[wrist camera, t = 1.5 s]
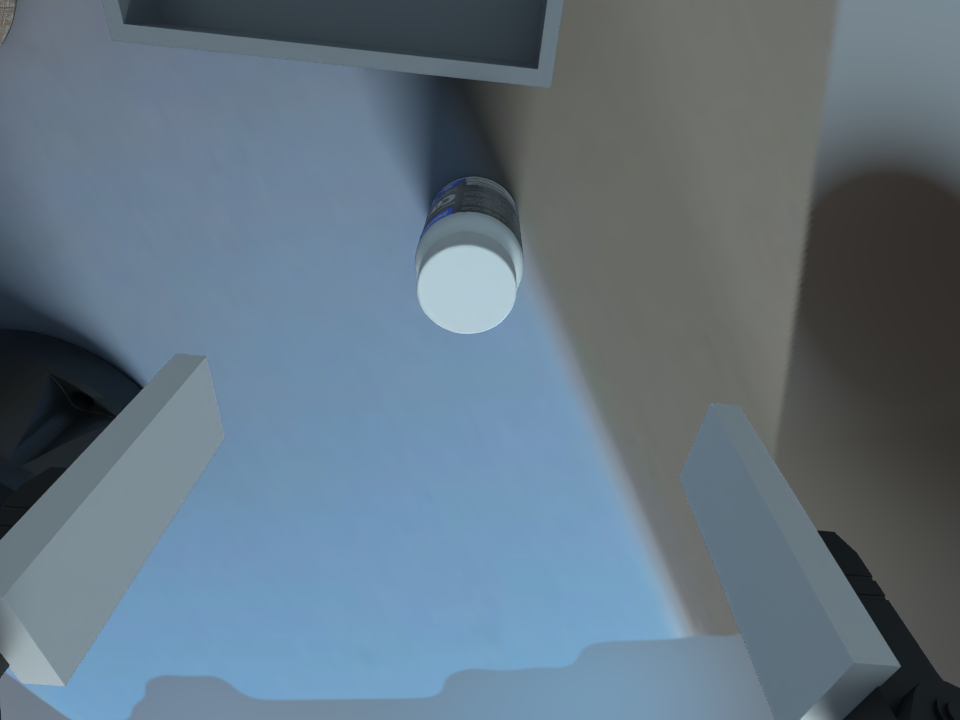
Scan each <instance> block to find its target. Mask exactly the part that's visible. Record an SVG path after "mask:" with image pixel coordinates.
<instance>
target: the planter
mask: <svg viewBox="0 0 960 720" xmlns="http://www.w3.org/2000/svg"><path fill="white" fill-rule="evenodd" d="M16 2H17V0H0V46H1V45H2V44H3V42H4V41H5V39H6V37H7V35H8V33H9V31H10V29H11V26H12V23H13V20H14V16H15V10H16Z"/></svg>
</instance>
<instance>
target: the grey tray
mask: <svg viewBox="0 0 960 720" xmlns="http://www.w3.org/2000/svg"><path fill="white" fill-rule="evenodd" d="M102 2H103V6H104V10H105V14H106V18H107V22H108V26H109V30H110V34H111V38H112V41H121V42H131V43H140V44H149V45H158V46H168V47H177V48H186V49H195V50H204V51H214V52H223V53H232V54H241V55H251V56H260V57H269V58H278V59H287V60H297V61H306V62H315V63H324V64H334V65H343V66H352V67H361V68H370V69H380V70H389V71H398V72H407V73H417V74H426V75H435V76H444V77H453V78H463V79H472V80H481V81H490V82H500V83H509V84H518V85H527V86H536V87H546V88H551V82H552V75H553V69H554V62H555V55H556V49H557V42H558V35H559V29H560V22H561V15H562V9H563V2H564V0H102Z"/></svg>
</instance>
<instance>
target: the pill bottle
mask: <svg viewBox="0 0 960 720" xmlns="http://www.w3.org/2000/svg"><path fill="white" fill-rule="evenodd" d="M523 268H524V257H523V249H522V240H521V232H520V221H519V215H518V211H517V207H516V205H515V202H514V201H513V199H512V197H511V196H510V194H509V193H508V192H507V191H506V190H505V189H504V188H503V187H502V186H500V185H499V184H497V183H496V182H494V181H492V180H489V179H486V178H482V177H464V178H460V179H457V180H455V181H453V182H451V183H449V184H448V185H446V186H445V187H444V188H443V189H442V190H441V191H440V192H439V193H438V195H437V196H436V197H435V199H434V201H433V203H432V205H431V208H430V211H429V214H428V217H427V219H426V222H425V225H424V229H423V232H422V234H421V237H420V241H419V243H418V247H417V250H416V255H415V270H416V275H417V295H418V299H419V302H420V304H421V307H422V309H423V310H424V312H425V313H426V314H427V316H428V317H429V318H430V319H431V320H432V321H434V322H435V323H436V324H438V325H439V326H441V327H443V328H444V329H447V330H449V331H452V332H456V333H464V334H472V333H479V332H483V331H486V330H489V329H491V328H493V327H495V326H496V325H498V324H499V323H500V322H502V321H503V320H504V319H505V318H506V316H507V315H508V314H509V312H510V311H511V309H512V307H513V305H514V303H515V299H516V295H517V288H518V286H519V284H520V281H521V278H522V274H523Z"/></svg>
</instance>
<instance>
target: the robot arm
mask: <svg viewBox="0 0 960 720" xmlns="http://www.w3.org/2000/svg"><path fill="white" fill-rule="evenodd" d="M224 438H225V434H224V430H223V426H222V421H221V417H220V413H219V408H218V404H217V399H216V395H215V391H214V386H213V382H212V378H211V373H210V369H209V365H208V360H207V356H197V355H186V354H175V355H174V356H173V358H172V359H171V360H170V361H169V362H168V363H167V364H166V365H165V366H164V367H163V368H162V369H161V370H160V371H159V372H158V373H157V374H156V376H155V377H154V378H153V379H152V380H151V381H150V382H149V383H148V384H147V385H146V386H145V387H144V388H143V389H142V390H141V389H140V388H139V387H138V386H137V385H136V384H135V383H133V382H132V381H131V380H130V379H129V378H128V377H126V376H125V375H124V374H122V373H121V372H120V371H118V370H117V369H115V368H114V367H113V366H111V365H110V364H108V363H106V362H105V361H103V360H102V359H100V358H98V357H96V356H94V355H93V354H91V353H89V352H87V351H85V350H83V349H80V348H78V347H76V346H74V345H71V344H68V343H66V342H63V341H60V340H57V339H54V338H51V337H47V336H44V335H39V334H35V333H30V332H24V331H15V330H0V678H1V676H2V675H3V674H4V672H5V671H6V670H7V668H8V667H9V668H10V669H11V670H12V671H13V673H14V674H15V675H16V677H17V678H18V679H19V680H20V682H21V683H26V684H39V685H53V686H66V685H67V683H68V682H69V680H70V678H71V677H72V675H73V674H74V672H75V671H76V669H77V668H78V666H79V664H80V663H81V661H82V660H83V658H84V657H85V655H86V653H87V652H88V650H89V649H90V647H91V646H92V644H93V643H94V641H95V639H96V638H97V636H98V635H99V633H100V632H101V630H102V629H103V627H104V625H105V624H106V622H107V621H108V619H109V618H110V616H111V614H112V613H113V611H114V610H115V608H116V607H117V605H118V604H119V602H120V600H121V599H122V597H123V596H124V594H125V593H126V591H127V590H128V588H129V586H130V585H131V583H132V582H133V580H134V579H135V577H136V575H137V574H138V572H139V571H140V569H141V568H142V566H143V565H144V563H145V561H146V560H147V558H148V557H149V555H150V554H151V552H152V551H153V549H154V547H155V546H156V544H157V543H158V541H159V540H160V538H161V536H162V535H163V533H164V532H165V530H166V529H167V527H168V526H169V524H170V522H171V521H172V519H173V518H174V516H175V515H176V513H177V512H178V510H179V508H180V507H181V505H182V504H183V502H184V501H185V499H186V497H187V496H188V494H189V493H190V491H191V490H192V488H193V487H194V485H195V483H196V482H197V480H198V479H199V477H200V476H201V474H202V473H203V471H204V469H205V468H206V466H207V465H208V463H209V462H210V460H211V458H212V457H213V455H214V454H215V452H216V451H217V449H218V448H219V446H220V444H221V443H222V441H223V440H224ZM679 478H680V481H681V483H682V486H683V488H684V491H685V493H686V496H687V498H688V501H689V504H690V506H691V509H692V511H693V514H694V516H695V519H696V521H697V524H698V526H699V529H700V531H701V534H702V537H703V539H704V542H705V544H706V547H707V549H708V552H709V554H710V557H711V559H712V562H713V564H714V567H715V569H716V572H717V575H718V577H719V580H720V582H721V585H722V587H723V590H724V592H725V595H726V597H727V600H728V602H729V605H730V608H731V610H732V613H733V615H734V618H735V620H736V623H737V625H738V628H739V630H740V633H741V635H742V638H743V640H744V643H745V645H746V648H747V650H748V653H749V656H750V658H751V660H752V663H753V666H754V668H755V671H756V673H757V676H758V679H759V681H760V684H761V686H762V689H763V691H764V694H765V696H766V698H767V701H768V704H769V706H770V709H771V711H772V714H773V717H774V719H775V720H960V688H958V687H956V686H954V685H952V684H950V683H948V682H945V681H943V680H942V679H941V677H940V676H939V675H938V673H937V672H936V671H935V669H934V668H933V666H932V665H931V663H930V662H929V660H928V659H927V657H926V656H925V654H924V653H923V651H922V650H921V648H920V647H919V645H918V644H917V642H916V641H915V639H914V638H913V636H912V635H911V633H910V632H909V630H908V629H907V627H906V626H905V624H904V623H903V621H902V620H901V618H900V617H899V615H898V614H897V612H896V611H895V609H894V608H893V607H892V605H891V603H890V602H889V601H888V600H886V599H885V594H884V593H883V591H882V590H881V588H880V587H879V586H878V584H877V582H876V581H873V580H872V575H871V573H870V572H869V570H868V569H867V567H866V566H865V564H864V563H863V561H862V560H861V558H860V557H859V555H858V554H857V553H856V552H855V551H854V550H853V549H852V548H851V547H850V546H849V545H847V543H846V542H844V541H843V540H842V539H841V538H840V537H839V536H838V535H837V534H836V533H835V532H829V531H817V530H816V528H815V527H814V525H813V524H812V522H811V520H810V519H809V517H808V516H807V514H806V512H805V511H804V509H803V508H802V506H801V504H800V503H799V501H798V500H797V498H796V496H795V495H794V493H793V491H792V490H791V488H790V487H789V485H788V483H787V482H786V480H785V478H784V477H783V475H782V474H781V472H780V471H779V469H778V467H777V466H776V464H775V462H774V461H773V459H772V458H771V456H770V454H769V453H768V451H767V449H766V448H765V446H764V445H763V443H762V441H761V440H760V438H759V437H758V435H757V433H756V432H755V430H754V428H753V427H752V425H751V424H750V422H749V420H748V419H747V417H746V416H745V414H744V412H743V411H742V409H741V408H740V406H739V405H729V404H718V403H710V406H709V408H708V410H707V413H706V415H705V417H704V420H703V422H702V424H701V427H700V429H699V431H698V434H697V436H696V438H695V441H694V443H693V445H692V448H691V450H690V452H689V455H688V457H687V459H686V462H685V464H684V467H683V469H682V471H681V474H680V476H679ZM0 720H1V710H0Z"/></svg>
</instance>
